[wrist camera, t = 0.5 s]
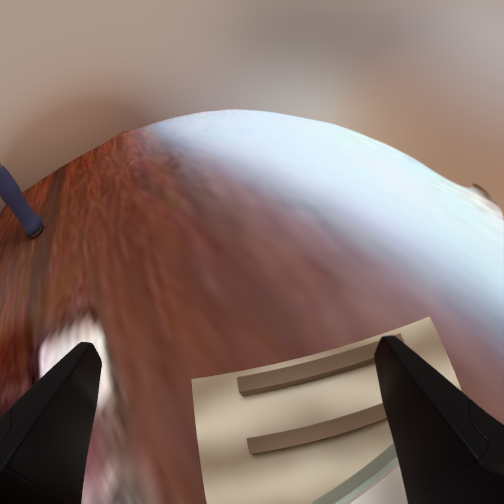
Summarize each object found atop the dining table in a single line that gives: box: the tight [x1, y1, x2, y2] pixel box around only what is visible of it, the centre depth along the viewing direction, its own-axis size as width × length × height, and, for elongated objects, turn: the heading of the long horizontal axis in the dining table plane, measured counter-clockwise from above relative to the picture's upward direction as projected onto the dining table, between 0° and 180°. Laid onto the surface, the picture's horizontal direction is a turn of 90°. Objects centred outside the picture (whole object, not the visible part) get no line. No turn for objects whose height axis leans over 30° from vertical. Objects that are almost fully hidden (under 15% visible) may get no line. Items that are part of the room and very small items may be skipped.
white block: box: [312, 443, 408, 504], centre depth 12 cm, size 10×3×8 cm, turn 121°
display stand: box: [192, 317, 462, 504], centre depth 17 cm, size 15×21×2 cm
